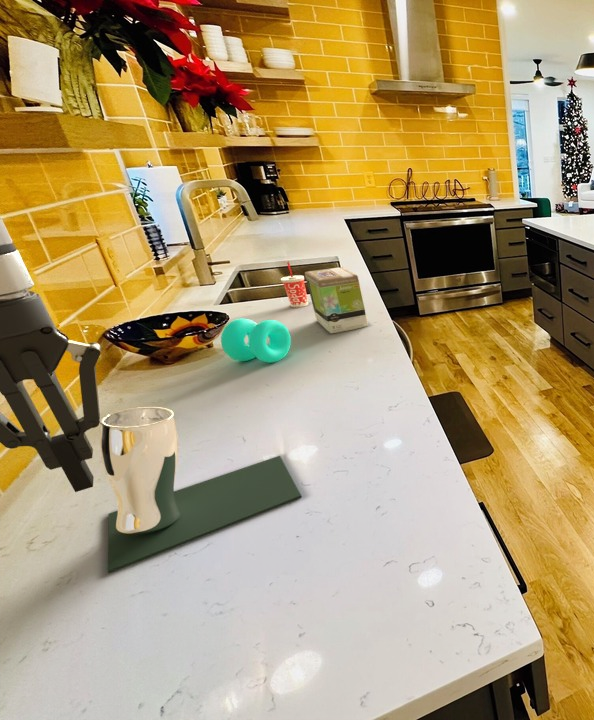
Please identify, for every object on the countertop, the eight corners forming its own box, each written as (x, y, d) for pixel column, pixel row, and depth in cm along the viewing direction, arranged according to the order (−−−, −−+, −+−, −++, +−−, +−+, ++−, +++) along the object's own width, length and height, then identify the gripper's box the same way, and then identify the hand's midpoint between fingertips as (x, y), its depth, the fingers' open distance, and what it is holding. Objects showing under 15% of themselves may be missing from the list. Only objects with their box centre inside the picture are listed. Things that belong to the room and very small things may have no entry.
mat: (109, 516, 69) (108, 513, 69) (280, 458, 82) (279, 455, 81) (109, 574, 60) (107, 571, 59) (302, 498, 72) (301, 495, 72)
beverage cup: (284, 308, 155) (271, 263, 149) (295, 302, 161) (282, 259, 155) (305, 308, 155) (292, 263, 150) (315, 302, 161) (303, 259, 155)
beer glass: (177, 500, 71) (169, 402, 67) (190, 523, 67) (181, 420, 63) (107, 517, 66) (92, 412, 62) (115, 544, 62) (101, 433, 58)
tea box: (370, 326, 140) (358, 274, 134) (330, 335, 134) (316, 281, 128) (354, 314, 150) (342, 265, 144) (316, 321, 144) (302, 271, 138)
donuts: (261, 351, 123) (248, 312, 119) (298, 353, 122) (287, 314, 118) (226, 367, 114) (211, 326, 110) (266, 369, 113) (252, 328, 109)
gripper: (-138, 320, 45) (-3, 526, 54) (71, 292, 53) (157, 475, 62) (-113, 302, 50) (7, 494, 59) (75, 279, 58) (154, 451, 67)
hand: (84, 484), depth 61 cm, fingers closed
